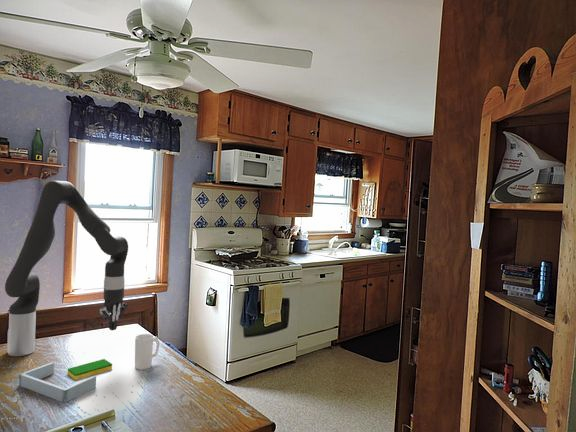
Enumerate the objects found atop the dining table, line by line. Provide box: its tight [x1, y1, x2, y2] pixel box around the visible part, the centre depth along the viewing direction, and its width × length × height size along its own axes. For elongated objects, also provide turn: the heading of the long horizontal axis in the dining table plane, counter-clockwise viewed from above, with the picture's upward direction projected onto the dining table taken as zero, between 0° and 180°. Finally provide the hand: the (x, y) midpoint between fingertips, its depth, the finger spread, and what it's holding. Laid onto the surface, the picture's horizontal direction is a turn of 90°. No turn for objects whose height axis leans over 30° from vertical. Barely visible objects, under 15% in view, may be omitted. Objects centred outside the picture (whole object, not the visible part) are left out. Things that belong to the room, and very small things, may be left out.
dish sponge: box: [67, 358, 113, 380], centre depth 152 cm, size 7×14×2 cm, turn 140°
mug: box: [134, 333, 160, 371], centre depth 160 cm, size 10×7×12 cm, turn 137°
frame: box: [18, 361, 97, 403], centre depth 139 cm, size 23×12×4 cm, turn 66°
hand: (112, 329), depth 159 cm, fingers closed
